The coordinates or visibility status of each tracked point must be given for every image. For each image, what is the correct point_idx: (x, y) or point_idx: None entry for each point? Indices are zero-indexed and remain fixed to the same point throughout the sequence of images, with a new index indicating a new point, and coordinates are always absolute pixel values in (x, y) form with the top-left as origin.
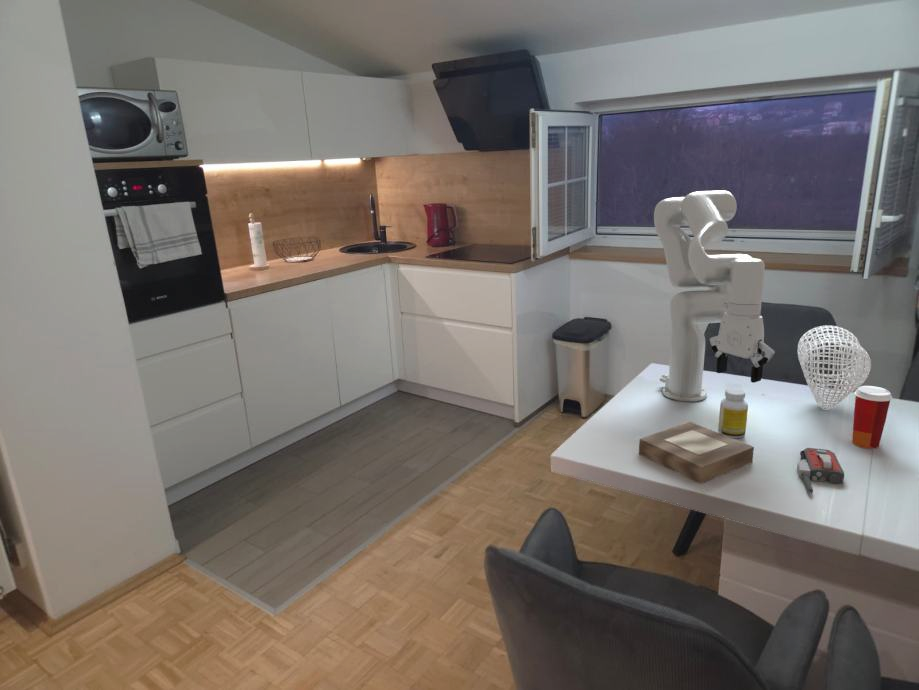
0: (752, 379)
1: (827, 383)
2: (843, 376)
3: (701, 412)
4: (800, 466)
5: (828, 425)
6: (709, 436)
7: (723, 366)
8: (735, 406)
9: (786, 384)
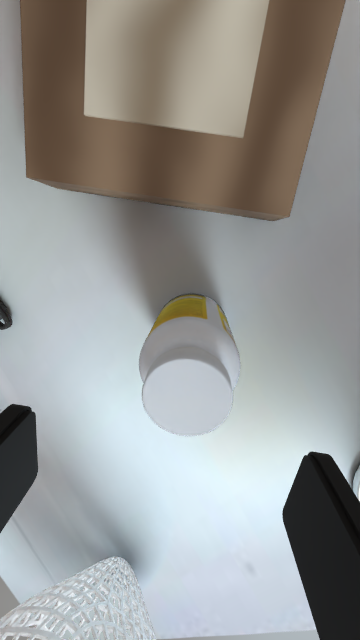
0: (1, 416)
1: (18, 629)
2: None
3: (321, 402)
4: None
5: (75, 498)
6: (169, 137)
7: (310, 532)
8: (161, 332)
9: (237, 630)
